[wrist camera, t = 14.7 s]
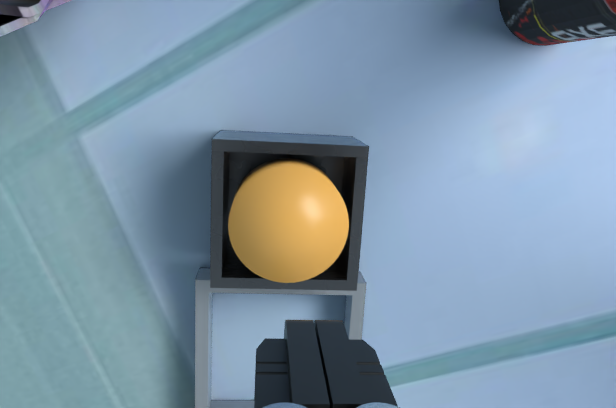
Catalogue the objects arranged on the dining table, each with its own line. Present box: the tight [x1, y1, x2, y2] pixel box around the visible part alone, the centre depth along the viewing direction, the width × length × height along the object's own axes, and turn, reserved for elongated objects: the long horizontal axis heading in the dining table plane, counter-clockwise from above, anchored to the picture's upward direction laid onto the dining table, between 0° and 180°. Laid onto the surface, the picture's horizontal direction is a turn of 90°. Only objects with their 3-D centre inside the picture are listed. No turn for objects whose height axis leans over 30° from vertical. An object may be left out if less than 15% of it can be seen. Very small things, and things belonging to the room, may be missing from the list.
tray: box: [195, 268, 366, 408], centre depth 32 cm, size 10×10×2 cm
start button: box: [228, 158, 349, 283], centre depth 26 cm, size 6×6×3 cm
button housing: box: [210, 130, 369, 291], centre depth 28 cm, size 8×8×5 cm
